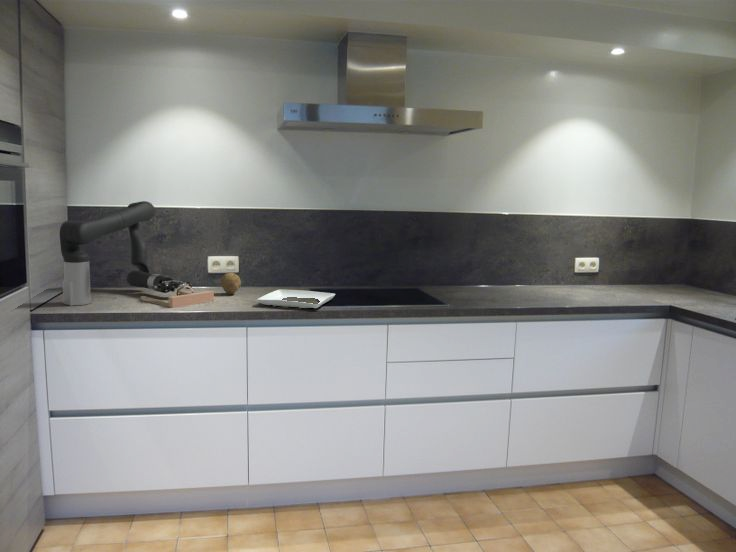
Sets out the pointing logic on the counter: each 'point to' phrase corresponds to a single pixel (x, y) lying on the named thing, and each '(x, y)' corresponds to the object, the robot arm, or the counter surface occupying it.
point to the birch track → (161, 300)
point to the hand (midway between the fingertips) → (182, 288)
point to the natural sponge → (230, 283)
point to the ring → (184, 286)
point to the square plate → (278, 295)
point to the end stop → (191, 299)
